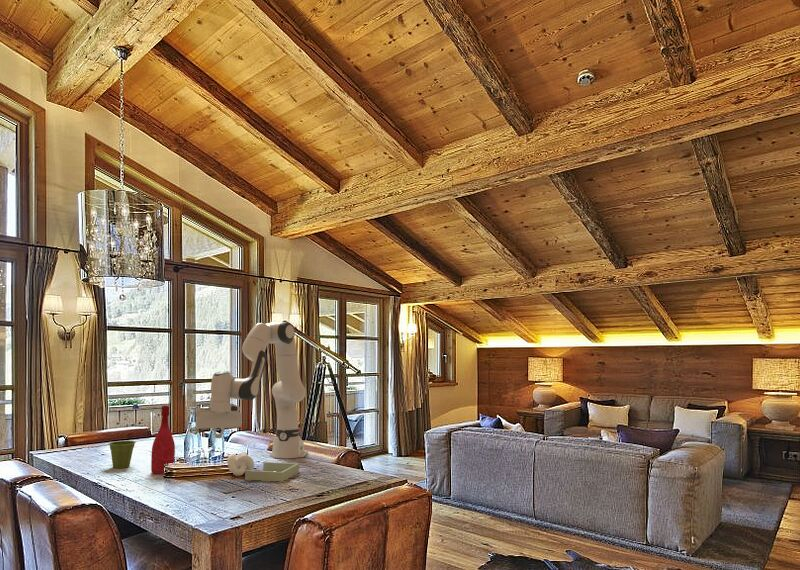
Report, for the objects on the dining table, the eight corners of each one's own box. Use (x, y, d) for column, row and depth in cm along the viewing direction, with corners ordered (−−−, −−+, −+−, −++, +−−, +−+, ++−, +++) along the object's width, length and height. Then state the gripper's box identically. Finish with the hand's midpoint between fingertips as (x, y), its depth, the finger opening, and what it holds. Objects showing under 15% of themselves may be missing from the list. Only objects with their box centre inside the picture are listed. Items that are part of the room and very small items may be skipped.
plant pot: (104, 466, 283) (105, 442, 284) (130, 463, 290) (131, 439, 291) (110, 470, 274) (112, 445, 275) (137, 467, 281) (139, 443, 282)
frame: (264, 470, 276) (264, 461, 276) (298, 472, 273) (299, 463, 273) (244, 480, 256) (245, 470, 257) (282, 482, 253) (282, 472, 254)
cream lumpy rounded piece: (238, 478, 260) (239, 457, 261) (219, 475, 266) (219, 454, 267) (257, 473, 270) (257, 453, 271) (237, 470, 276) (238, 451, 276)
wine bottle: (158, 475, 264) (161, 407, 267) (146, 472, 269) (149, 405, 272) (178, 472, 271) (181, 405, 274) (166, 469, 277) (169, 404, 280)
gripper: (196, 408, 265) (195, 440, 264) (243, 407, 274) (241, 438, 272) (195, 406, 271) (193, 438, 270) (241, 406, 280) (239, 436, 278)
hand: (218, 438), depth 271 cm, fingers closed
